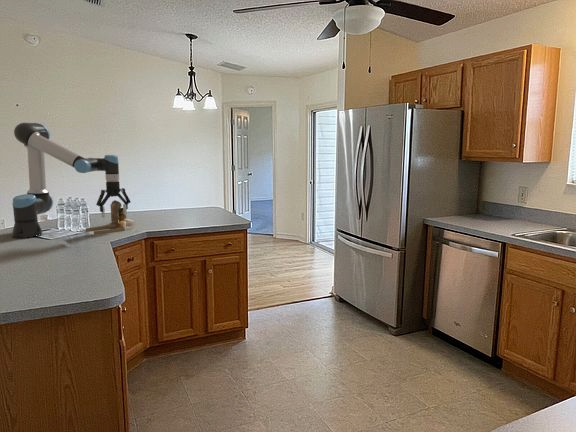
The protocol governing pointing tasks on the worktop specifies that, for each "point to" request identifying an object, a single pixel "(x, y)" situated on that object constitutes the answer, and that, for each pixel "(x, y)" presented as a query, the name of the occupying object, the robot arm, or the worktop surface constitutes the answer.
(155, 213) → the worktop surface
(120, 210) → the brown animal figurine
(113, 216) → the brown tall block
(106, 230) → the brown wooden tray
